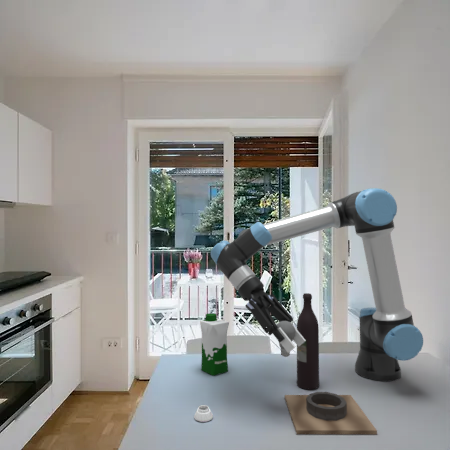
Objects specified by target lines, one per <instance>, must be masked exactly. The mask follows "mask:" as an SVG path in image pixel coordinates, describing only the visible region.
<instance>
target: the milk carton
mask: <svg viewBox="0 0 450 450" xmlns="http://www.w3.org/2000/svg"><path fill="white" fill-rule="evenodd" d="M199 322H200V329H201V331H200V332H201V368H200V369H201V371H203V372H204V373H206V374H208V375H210V376H212V377H214V376H218V375H220V374H223V373H226V372H229V365H228V364H229V363H228V330H229V324H230V321H228V320H225V319H222V318H218V317H217V314H216V313H212V312H210V313H205V319H202V320H200V321H199Z"/></svg>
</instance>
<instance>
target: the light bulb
mask: <svg viewBox="0 0 450 450" xmlns="http://www.w3.org/2000/svg"><path fill="white" fill-rule="evenodd" d="M276 325H277V327H278V328H281V329H282V330H283V331H284V333H285V334H286V335H287V336H288V338H289V339H290V340H291V341H292V342H294V340H293V339H294V337H295V334H296V330H295V328H296V326H295V325H294V324H293V322H291V323H290V322H288V321H281V322H279V321H278V322H277V323H276ZM293 325H294V326H293ZM278 328H277V329H278ZM277 341H278V340H277ZM278 344H279V347H280V355H281V356H282V357H285V358H286V357H287V358H288V357H290V355H291V351H290V352H289V353H288V352H287V351H286V350H285V349H284V347H283V346H282V345H281V343H280V342H279V341H278Z"/></svg>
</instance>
